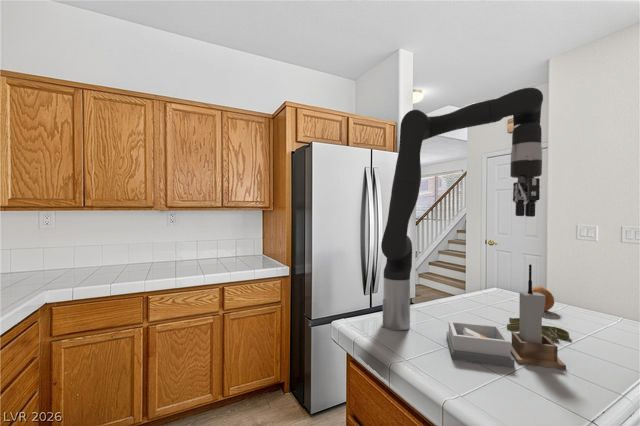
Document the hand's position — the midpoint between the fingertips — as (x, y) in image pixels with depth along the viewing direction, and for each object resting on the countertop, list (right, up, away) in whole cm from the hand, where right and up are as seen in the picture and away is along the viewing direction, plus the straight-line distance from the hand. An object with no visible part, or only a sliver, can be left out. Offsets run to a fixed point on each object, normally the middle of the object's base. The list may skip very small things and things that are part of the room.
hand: (524, 216), depth 87 cm
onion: (+32, -40, +38) cm, 64 cm away
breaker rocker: (-13, -36, +1) cm, 38 cm away
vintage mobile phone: (+1, -39, -2) cm, 39 cm away
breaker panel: (-13, -40, +1) cm, 42 cm away
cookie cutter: (+15, -40, +16) cm, 46 cm away
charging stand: (+1, -40, -3) cm, 40 cm away
